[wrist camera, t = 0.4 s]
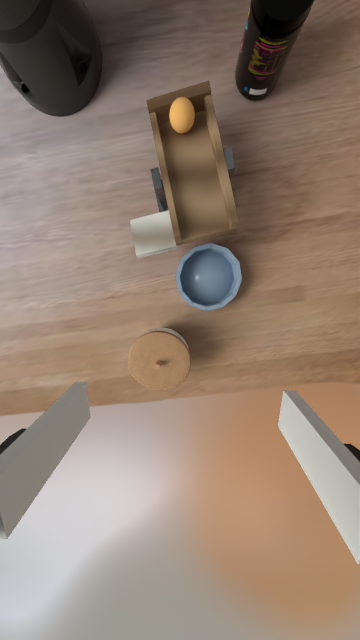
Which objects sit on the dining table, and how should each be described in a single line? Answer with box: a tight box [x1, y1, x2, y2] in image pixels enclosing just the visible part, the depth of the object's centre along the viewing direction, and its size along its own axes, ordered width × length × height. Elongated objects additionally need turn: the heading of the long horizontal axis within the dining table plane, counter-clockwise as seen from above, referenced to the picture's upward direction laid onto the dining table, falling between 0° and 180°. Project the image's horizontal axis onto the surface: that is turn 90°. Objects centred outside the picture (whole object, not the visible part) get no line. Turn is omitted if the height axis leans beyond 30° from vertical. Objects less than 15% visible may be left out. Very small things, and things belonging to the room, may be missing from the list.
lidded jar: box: [128, 328, 191, 391], centre depth 36 cm, size 11×11×9 cm
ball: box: [169, 97, 195, 133], centre depth 25 cm, size 3×3×3 cm
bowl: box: [176, 243, 242, 311], centre depth 36 cm, size 11×11×4 cm
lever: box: [130, 81, 239, 258], centre depth 26 cm, size 18×14×3 cm
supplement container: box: [235, 0, 314, 100], centre depth 26 cm, size 7×7×10 cm
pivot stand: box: [150, 147, 235, 212], centre depth 30 cm, size 7×12×9 cm, turn 102°
